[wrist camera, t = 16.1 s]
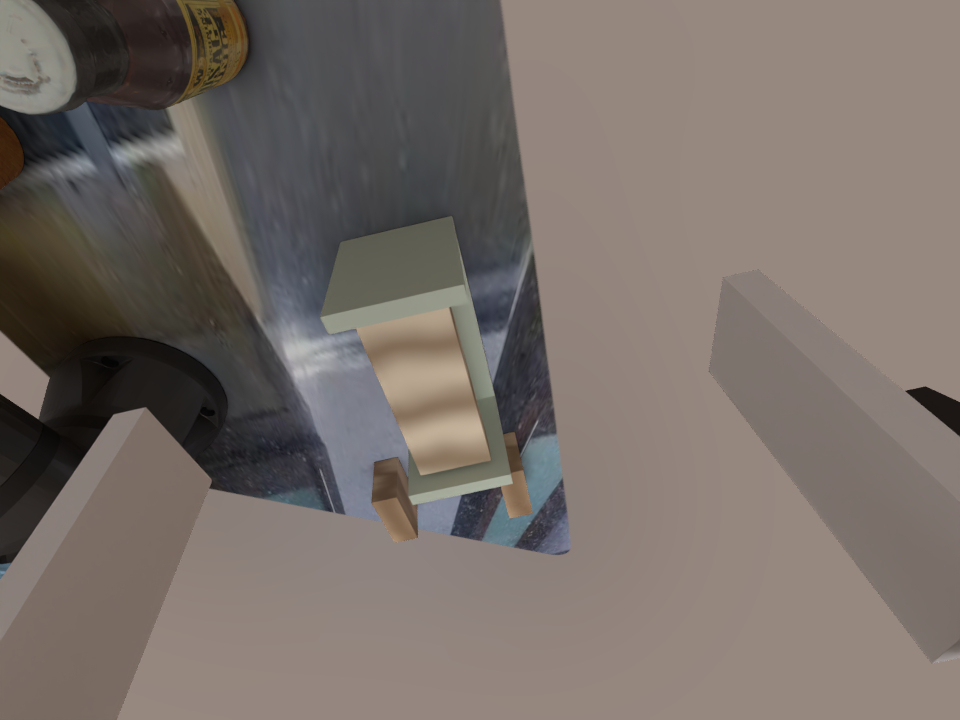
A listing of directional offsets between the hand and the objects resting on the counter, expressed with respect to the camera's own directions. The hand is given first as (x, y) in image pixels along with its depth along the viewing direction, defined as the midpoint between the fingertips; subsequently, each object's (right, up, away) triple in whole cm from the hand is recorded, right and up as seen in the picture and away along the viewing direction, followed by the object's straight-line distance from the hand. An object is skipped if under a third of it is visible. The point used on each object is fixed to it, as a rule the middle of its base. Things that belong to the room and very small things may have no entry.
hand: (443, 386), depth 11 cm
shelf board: (-3, -1, +31) cm, 31 cm away
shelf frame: (-4, +4, +37) cm, 38 cm away
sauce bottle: (-17, +23, +20) cm, 35 cm away
